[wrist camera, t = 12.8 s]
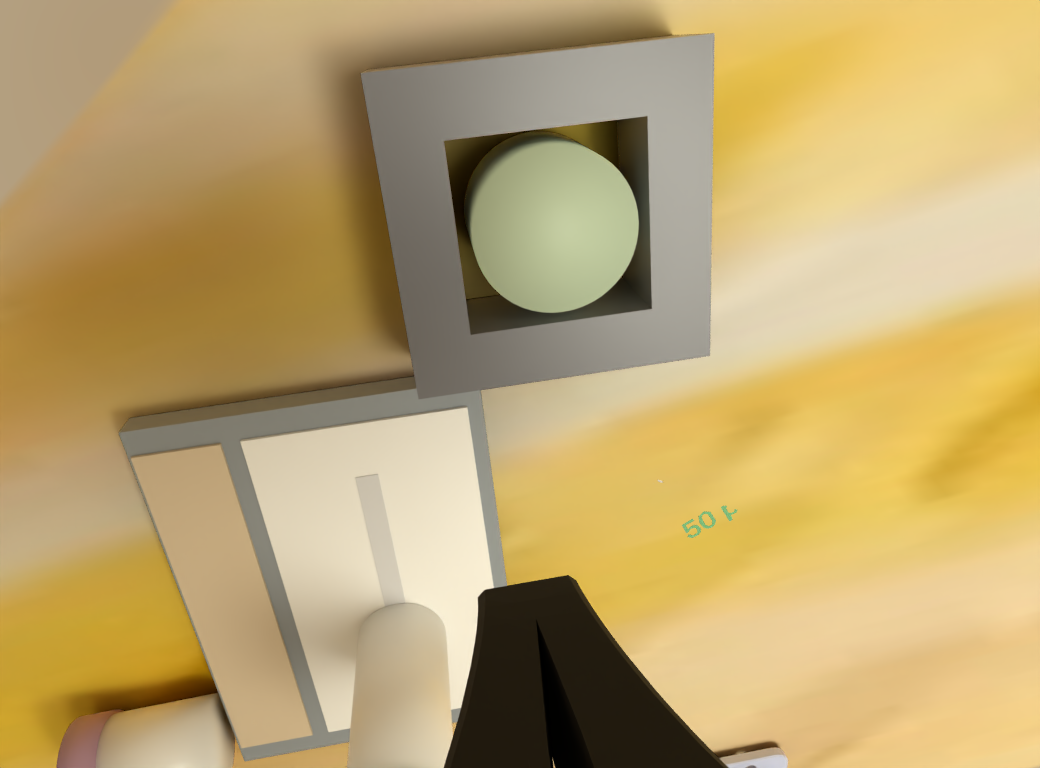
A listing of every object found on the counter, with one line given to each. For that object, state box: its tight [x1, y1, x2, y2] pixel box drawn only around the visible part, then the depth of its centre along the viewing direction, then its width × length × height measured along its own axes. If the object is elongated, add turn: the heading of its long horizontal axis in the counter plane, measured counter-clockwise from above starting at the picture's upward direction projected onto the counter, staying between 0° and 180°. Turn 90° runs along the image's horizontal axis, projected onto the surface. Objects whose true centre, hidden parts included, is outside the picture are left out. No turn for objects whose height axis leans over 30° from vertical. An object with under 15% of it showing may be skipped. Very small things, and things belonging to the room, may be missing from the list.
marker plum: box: [57, 693, 235, 768], centre depth 22 cm, size 3×3×4 cm
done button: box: [464, 131, 639, 313], centre depth 17 cm, size 4×4×2 cm
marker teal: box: [347, 603, 453, 768], centre depth 19 cm, size 3×3×7 cm
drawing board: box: [119, 376, 507, 761], centre depth 21 cm, size 9×12×1 cm
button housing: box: [360, 33, 714, 399], centre depth 17 cm, size 7×7×2 cm
